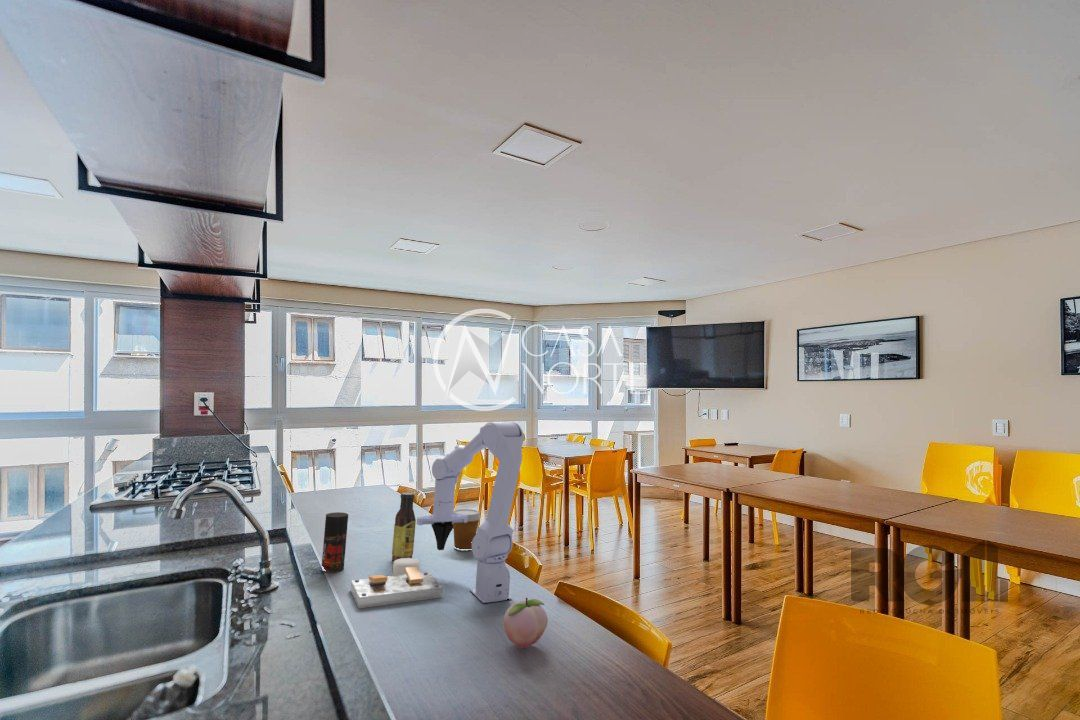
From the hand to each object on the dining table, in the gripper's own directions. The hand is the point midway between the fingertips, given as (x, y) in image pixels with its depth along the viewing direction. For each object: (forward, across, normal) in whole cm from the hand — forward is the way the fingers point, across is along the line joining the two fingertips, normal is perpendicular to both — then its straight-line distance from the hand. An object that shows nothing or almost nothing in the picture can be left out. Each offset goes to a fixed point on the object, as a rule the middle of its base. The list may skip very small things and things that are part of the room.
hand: (440, 549), depth 149 cm
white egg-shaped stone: (+7, +10, 0) cm, 12 cm away
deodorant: (+7, +27, -12) cm, 30 cm away
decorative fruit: (+6, -2, +49) cm, 50 cm away
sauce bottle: (+7, +7, -14) cm, 17 cm away
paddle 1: (+2, +20, +11) cm, 23 cm away
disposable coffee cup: (+7, -15, -20) cm, 26 cm away
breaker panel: (+6, +15, +12) cm, 20 cm away
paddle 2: (+2, +10, +11) cm, 15 cm away
